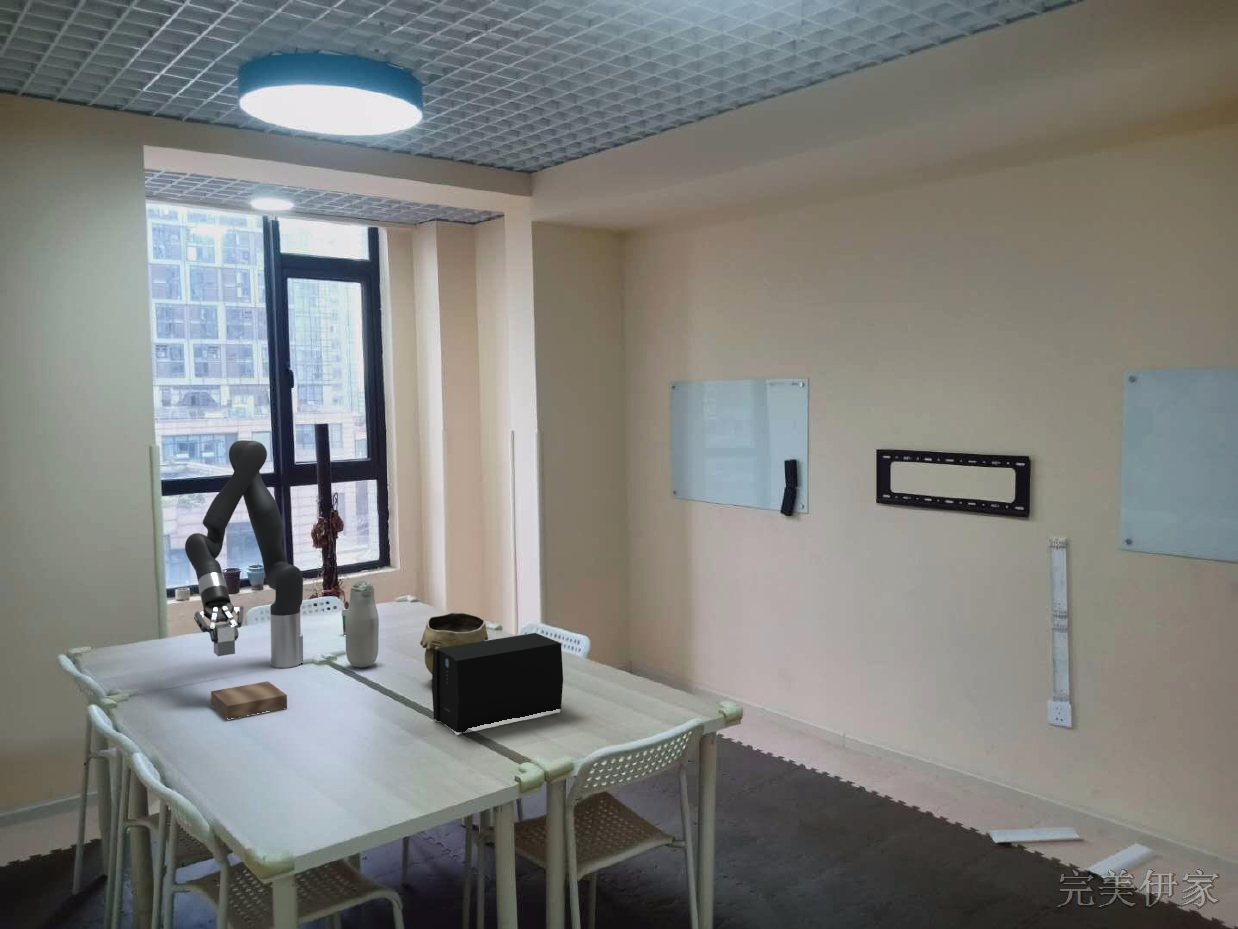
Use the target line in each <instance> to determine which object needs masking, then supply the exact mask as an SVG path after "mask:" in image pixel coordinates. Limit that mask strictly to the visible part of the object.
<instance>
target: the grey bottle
mask: <svg viewBox="0 0 1238 929" xmlns="http://www.w3.org/2000/svg"><path fill="white" fill-rule="evenodd" d="M349 596H350V597H349V602H348V608H347V609H346V610H347V613H346V619H345V633H346V636H345V654H346V658H347V660H348V662H349V664H350V665H351V666H353V667H356V668H359V667H363V668H368V667H367V666H369V667H370V665H371V666H372V665H374V664H375V663H376V661H377V658H378V655H379V633H380V631H379V630H380V628H379V627H380V619H379V613H378V609H377V604H376V599H375V587H374V586H373V584H372V583H371V582H368V581H362V580H361V581H357V582H354V583H353V584H352V585H351V588H350V593H349Z"/></svg>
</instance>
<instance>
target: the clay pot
mask: <svg viewBox="0 0 1238 929" xmlns="http://www.w3.org/2000/svg"><path fill="white" fill-rule="evenodd" d="M487 640H489V634H488V630H487V625H486V621H485V619H483V618H482V617H480V616H477V615H474V614H472V613H471V614H470V613H467V612H449V613H446V614H442V615H433V616H430V617H429V618H428V619H427V621H426V625H425V628H424V631H423V634H422V638H421V640H420V642H419V644H420V646H421V648H423V649H425V651H424V663H425V667H426V669H427V670H428V672H429V673H430V674H431V675H432V670H433V649H437V648H443V647H449V646H456V645H462V644H468V643H474V642H481V641H487Z"/></svg>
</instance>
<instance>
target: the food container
mask: <svg viewBox="0 0 1238 929" xmlns="http://www.w3.org/2000/svg"><path fill="white" fill-rule="evenodd" d="M347 610H348V609H342V610H341V618H342V619H341V620H342V629H343V631H342V633H343V636H344V635H346V633H345V619H346V613H347Z"/></svg>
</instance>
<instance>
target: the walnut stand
mask: <svg viewBox="0 0 1238 929" xmlns="http://www.w3.org/2000/svg"><path fill="white" fill-rule="evenodd" d="M210 697H211V698H210V702H211V703H210V704H211V706H212V705H213V706H214V707H215V708H216V709H215V708H214V707H213V706H212V707H213V708H214V709H215V710H216V711H217V712H218V711H219V712H220V713H219V712H218V713H219V714H220V715H222V716H223V718H225V719H226V718H228V719H231V718H238V719H240V718H239V717H243V718H245V717H244V716H247V715H252V714H257V713H262V712H266V711H273V712H276V711H275V710H279V711H281V710H280V709H284V708H287V709H288V695H287V694H286V693H285V692H284V691H283V690H281V689H279V688H278V687H277V686H275V685H274V684H273V683H271V682H270V681H268V680H267V681H263V682H257V683H256V682H255V683H250V684H245V685H239V686H233V687H228V688H227V687H226V688H222V689H216V690H211V691H210ZM284 710H285V709H284Z"/></svg>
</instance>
